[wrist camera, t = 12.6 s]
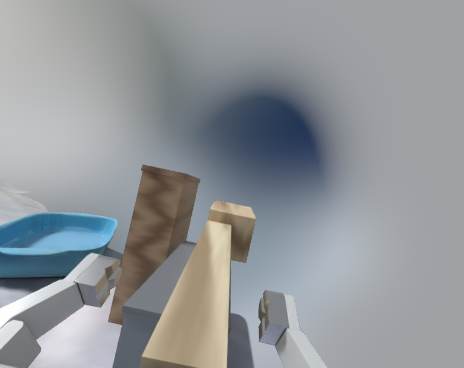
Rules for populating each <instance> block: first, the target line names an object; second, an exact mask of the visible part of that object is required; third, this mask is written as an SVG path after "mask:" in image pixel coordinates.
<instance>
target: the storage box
mask: <svg viewBox="0 0 464 368" xmlns="http://www.w3.org/2000/svg"><path fill="white" fill-rule="evenodd" d="M196 244H197V243H193V242H188V241H183V242H182V243H181V244H180V245H179V247H178V248H177V249H176V250H175V251H174V252H173V253H172V254H171V255H170V256H169V257H168V258H167V259H166V260H165V261H164V262H163V263H162V265H161V266H160V267H159V268H158V269H157V270H156V271H155V272H154V273H153V274H152V275H151V276H150V277H149V278H148V279H147V280H146V282H145V283H144V284H143V285H142V286H141V287H140V288H139V289H138V290H137V291H136V292H135V293H134V294H133V295H132V296H131V297H130V298H129V300H128V301H127V302H126V303H125V304H124V305H123V307H122V311H121V312H124V313H125V315H124V319H123V324H122V328H121V333H120V337H119V341H118V346H117V350H116V354H115V359H114V363H113V368H139V367H140V362H141V357H142V354H143V352H144V350H145V348H146V346H147V344H148V342H149V340H150V338H151V336H152V334H153V332H154V330H155V328H156V326H157V324H158V322H159V320H160V317H161V315H162V313H163V311H164V309H165V307H166V305H167V303H168V301H169V299H170V297H171V295H172V293H173V291H174V289H175V287H176V285H177V283H178V280H179V278H180V276H181V274H182V272H183V270H184V268H185V266H186V264H187V262H188V260H189V258H190V256H191V254H192V252H193V250H194V248H195V246H196ZM230 278H231V260H230ZM230 281H231V279H230ZM230 284H231V283H230V282H229V313H228V335H229V332H230Z"/></svg>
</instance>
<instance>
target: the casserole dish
mask: <svg viewBox="0 0 464 368" xmlns="http://www.w3.org/2000/svg"><path fill="white" fill-rule="evenodd" d="M117 226H118V221H117V220H115V219H113V218H108V217H102V216H97V215H91V214H81V213H59V212H58V213H57V212H46V213H37V214H32V215H28V216H25V217H22V218H19V219H16V220H14V221H11V222H8V223H6V224H3V225H0V278H28V277H59V276H67V275H68V274H69V273H70V272H71V271H72V270H73V269H74V268H75V267H76V266H77V265H78V264H79V263H80V262H81V261H82V260H83V259H84V258H85V257H86V256H87V255H89V254H91V253H95V254H100V255H102V254H103V253H104V251H105V249H106V248H107V246H108V244H109V242H110V240H111V239H112V237H113V234H114V232H115V230H116V228H117Z"/></svg>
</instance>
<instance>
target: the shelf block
mask: <svg viewBox="0 0 464 368" xmlns="http://www.w3.org/2000/svg"><path fill="white" fill-rule="evenodd" d="M141 170H142V171H143V172H142V177H141V181H140V185H139V190H138V194H137V199H136V203H135V207H134V211H133V216H132V220H131V224H130V229H129V233H128V237H127V242H126V246H125V250H124V255H123V259H122V263H121V268H122V275H121V278H120V280H119V282H118V283H117V285H116V289H115V294H114V298H113V302H112V307H111V311H110V315H109V320H108V322H112V323H117V324H123V319H124V315H125V313H124V312H121V311H122V307H123V305H124V304H125V303H126V302H127V301H128V300H129V298H130V297H131V296H132V295H133V294H134V293H135V292H136V291H137V290H138V289H139V288H140V287H141V286H142V285H143V284H144V283H145V282H146V280H147V279H148V278H149V277H150V276H151V275H152V274H153V273H154V272H155V271H156V270H157V269H158V268H159V267H160V266H161V265H162V263H163V262H164V261H165V260H166V259H167V258H168V257H169V256H170V255H171V254H172V253H173V252H174V251H175V250H176V249H177V248H178V247H179V245H180V244H181V243H182V242H183V241H186V239H187V234H188V230H189V225H190V220H191V216H192V211H193V207H194V202H195V197H196V193H197V188H198V184H199V183H200V179H199V178H196V177H193V176H191V175H188V174H184V173H180V172H175V171H170V170H166V169H161V168H156V167H151V166H147V165H142V169H141Z"/></svg>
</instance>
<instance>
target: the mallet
mask: <svg viewBox="0 0 464 368" xmlns="http://www.w3.org/2000/svg"><path fill="white" fill-rule="evenodd" d="M255 221H256V218H255V216H254V213H253V211H252V209H251V208H250V207H245V206H241V205H236V204H232V203H226V202H222V201H217V200H215V202H214V203H213V205H212V207H211V209H210V212H209V217H208V221H207V223H206V225H205V227H204V229H203V232H202V233H201V235H200V237H199V240H198V242H197V244H196V246H195V248H194V250H193V252H192V254H191V256H190V258H189V260H188V262H187V264H186V266H185V268H184V270H183V272H182V274H181V276H180V278H179V280H178V283H177V285H176V287H175V289H174V291H173V293H172V295H171V297H170V299H169V301H168V303H167V305H166V307H165V309H164V311H163V313H162V315H161V317H160V320H159V322H158V324H157V326H156V328H155V330H154V332H153V334H152V336H151V338H150V340H149V342H148V344H147V346H146V348H145V350H144V352H143V354H142V357H141V362H140V367H139V368H227V344H228V313H229V282H230V260H234V261H239V262H243V263H246V261H247V256H248V252H249V247H250V243H251V239H252V234H253V230H254V226H255Z"/></svg>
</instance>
